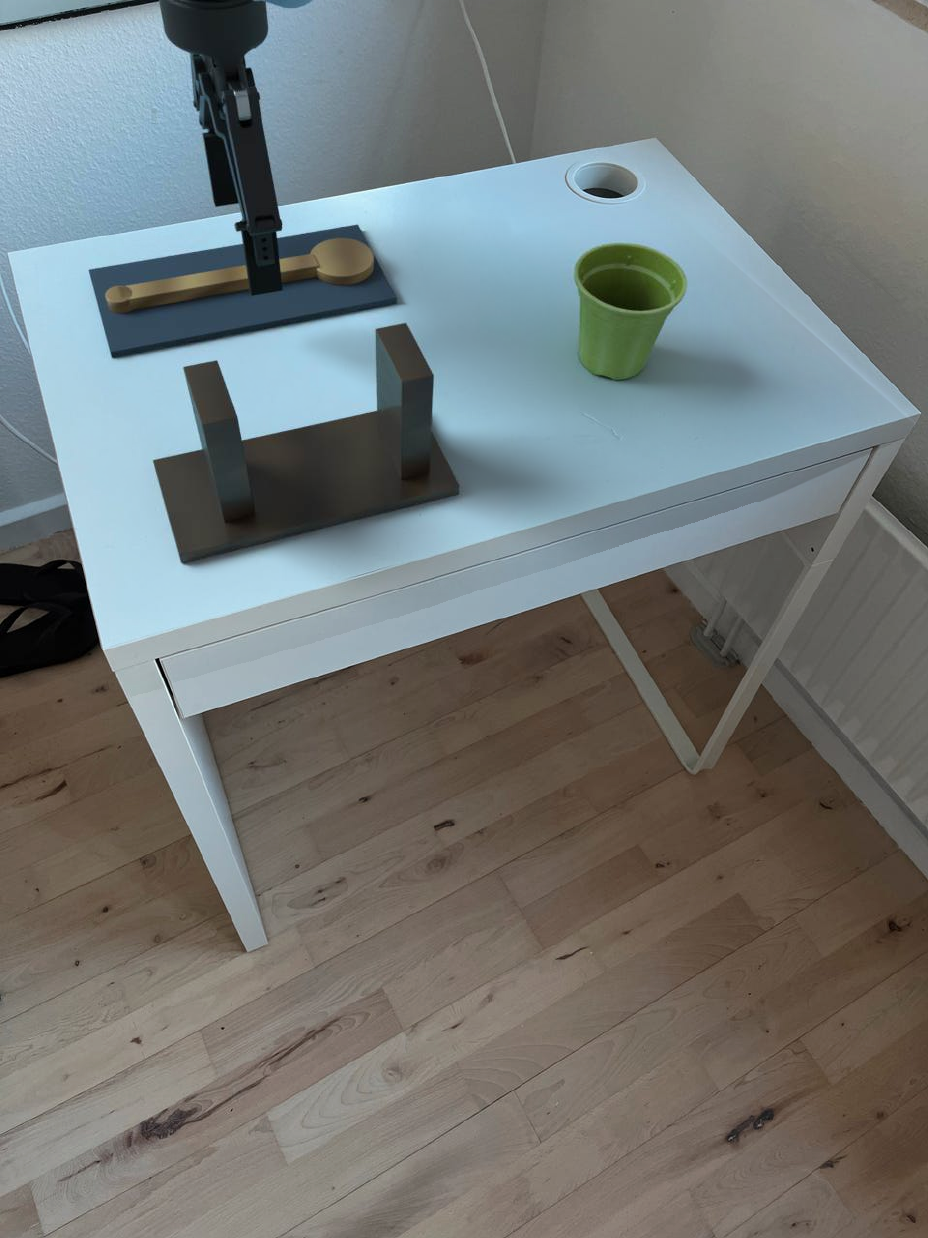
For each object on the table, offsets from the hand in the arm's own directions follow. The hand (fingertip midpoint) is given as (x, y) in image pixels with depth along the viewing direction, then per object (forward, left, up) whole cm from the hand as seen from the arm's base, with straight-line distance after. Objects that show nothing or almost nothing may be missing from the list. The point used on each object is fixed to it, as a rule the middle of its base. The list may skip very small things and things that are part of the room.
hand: (246, 245), depth 84 cm
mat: (-1, 0, -4) cm, 5 cm away
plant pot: (+28, -19, -5) cm, 34 cm away
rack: (-2, -25, -4) cm, 25 cm away
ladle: (-1, 0, -4) cm, 4 cm away
